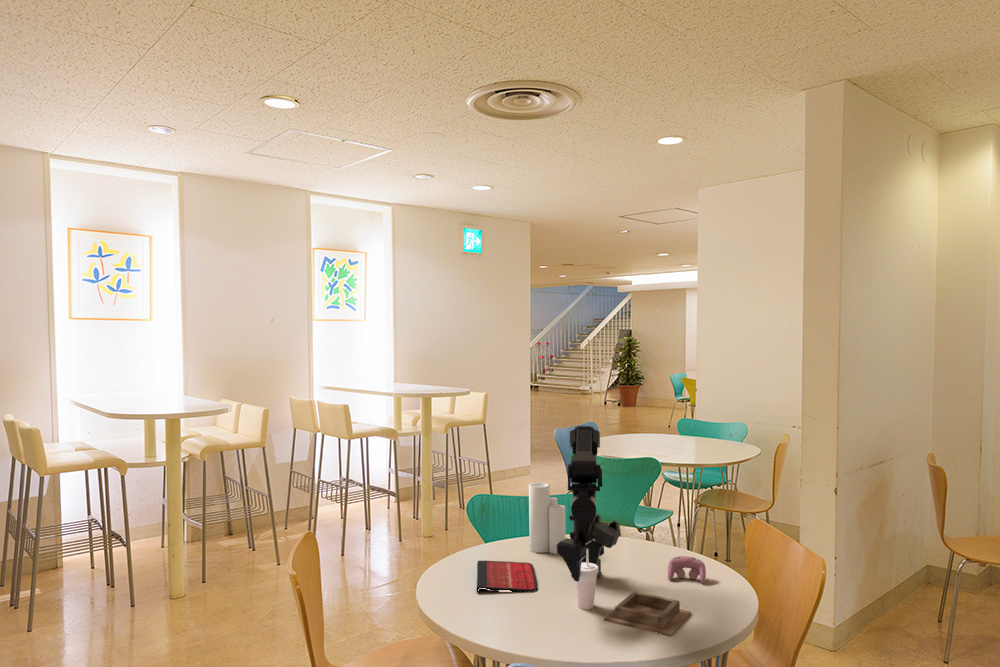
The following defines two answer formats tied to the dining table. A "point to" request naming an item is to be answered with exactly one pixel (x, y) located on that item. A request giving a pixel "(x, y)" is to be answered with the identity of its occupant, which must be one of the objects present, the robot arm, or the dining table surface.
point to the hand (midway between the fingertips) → (585, 575)
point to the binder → (506, 576)
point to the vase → (545, 519)
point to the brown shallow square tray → (649, 613)
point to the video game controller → (687, 562)
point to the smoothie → (586, 584)
